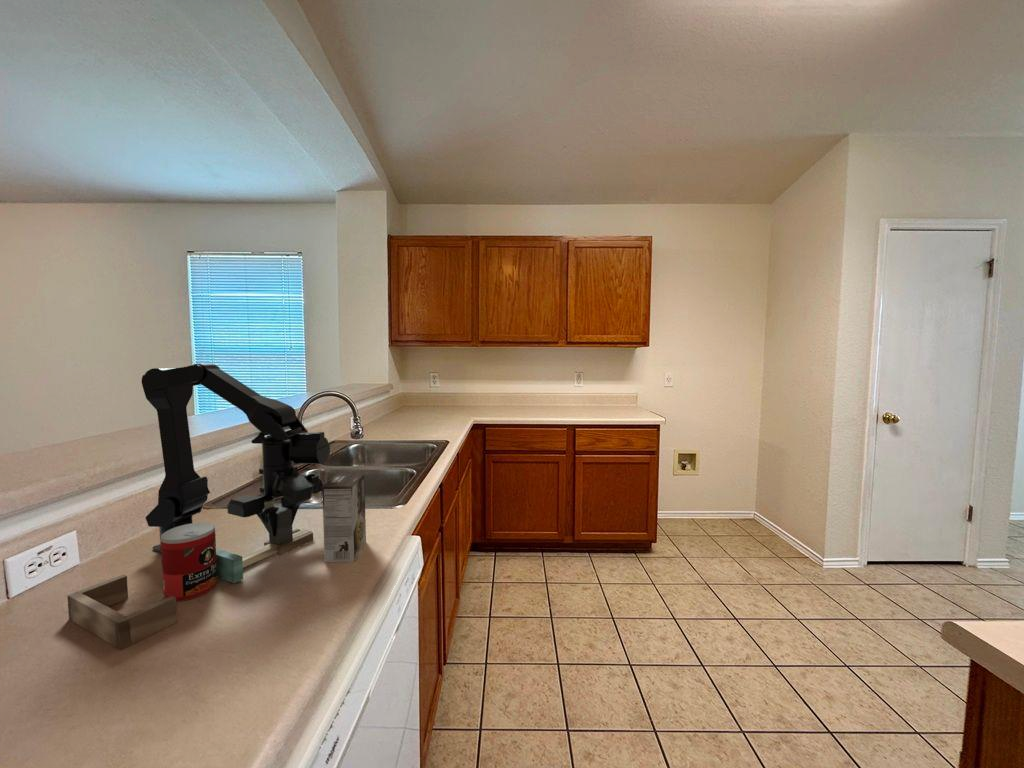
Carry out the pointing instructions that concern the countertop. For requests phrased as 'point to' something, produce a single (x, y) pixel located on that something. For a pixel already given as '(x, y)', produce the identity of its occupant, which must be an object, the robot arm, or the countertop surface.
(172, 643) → the countertop surface
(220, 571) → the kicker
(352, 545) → the coffee box
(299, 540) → the guide
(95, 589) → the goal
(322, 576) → the countertop surface
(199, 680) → the countertop surface
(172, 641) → the countertop surface
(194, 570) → the canned food
